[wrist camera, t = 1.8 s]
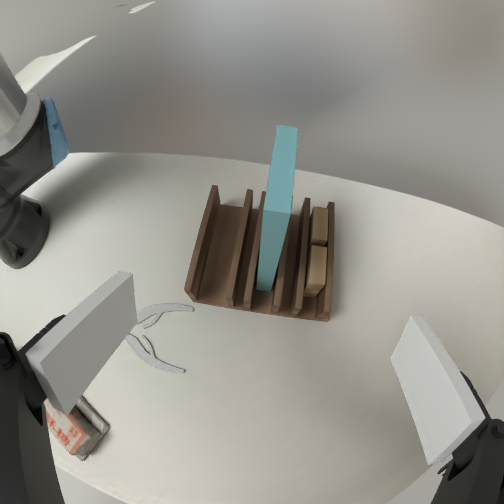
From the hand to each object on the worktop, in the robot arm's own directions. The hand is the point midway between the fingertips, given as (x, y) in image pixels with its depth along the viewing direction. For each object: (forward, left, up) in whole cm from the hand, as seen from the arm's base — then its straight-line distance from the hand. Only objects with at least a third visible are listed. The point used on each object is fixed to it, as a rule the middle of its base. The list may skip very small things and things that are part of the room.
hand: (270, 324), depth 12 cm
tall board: (0, +14, -25) cm, 28 cm away
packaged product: (-29, -17, -26) cm, 43 cm away
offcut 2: (+6, +11, -25) cm, 28 cm away
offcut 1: (+6, +17, -25) cm, 31 cm away
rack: (0, +14, -26) cm, 29 cm away
